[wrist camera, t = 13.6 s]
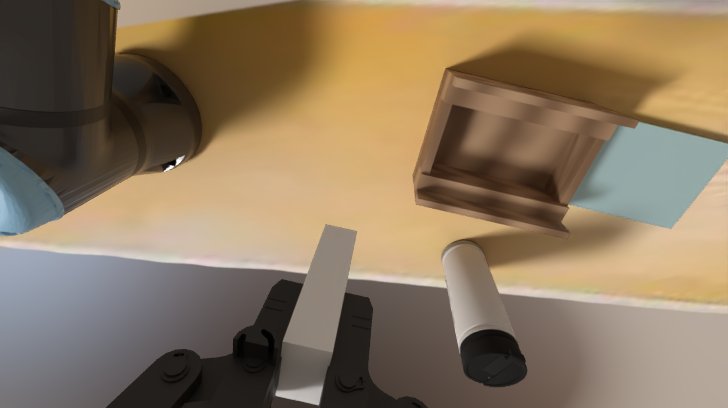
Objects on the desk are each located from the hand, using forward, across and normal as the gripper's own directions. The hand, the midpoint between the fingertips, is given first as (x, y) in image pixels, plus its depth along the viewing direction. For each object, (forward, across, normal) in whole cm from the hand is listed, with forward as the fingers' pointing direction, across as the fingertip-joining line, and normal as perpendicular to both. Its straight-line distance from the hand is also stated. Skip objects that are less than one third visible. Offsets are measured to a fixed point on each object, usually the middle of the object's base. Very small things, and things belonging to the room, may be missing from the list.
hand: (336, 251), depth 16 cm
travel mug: (+30, +18, -18) cm, 39 cm away
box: (+29, +16, 0) cm, 33 cm away
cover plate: (+30, +34, 0) cm, 45 cm away
